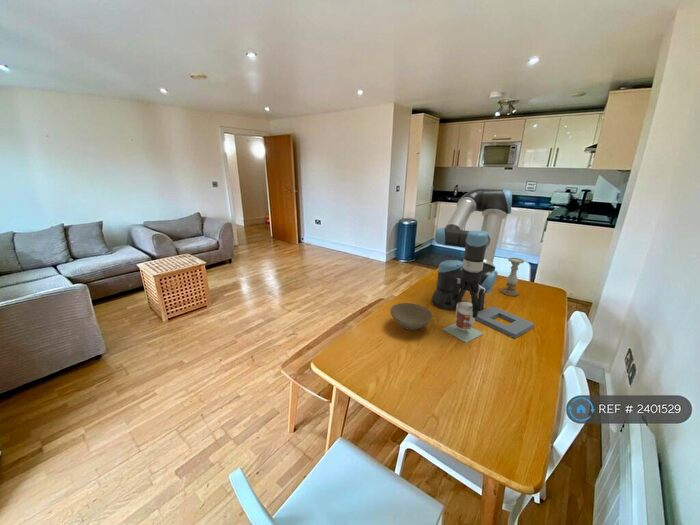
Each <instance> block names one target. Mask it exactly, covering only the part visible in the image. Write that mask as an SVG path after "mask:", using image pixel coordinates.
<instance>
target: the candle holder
mask: <svg viewBox="0 0 700 525" xmlns="http://www.w3.org/2000/svg"><path fill="white" fill-rule="evenodd" d="M507 261H509V262H510V264H511V266H510V272H509V273H510V274H509V275H508V276H507V278H506V284H505V285H506V287H504V288H501V290H500V293H502V294H503V295H506V296H509V297H517V296H519V292H518V290H517V289H516V286H517V285H516V284H517V283H518V282H519V281H518V276H517V272H518V271H519V266H520V264H524V263H525V260H524V259H522V258H519V257H509V258H508V260H507Z"/></svg>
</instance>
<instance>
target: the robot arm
mask: <svg viewBox="0 0 700 525" xmlns="http://www.w3.org/2000/svg"><path fill="white" fill-rule="evenodd" d="M512 204H513V192H512V190H510V189H504V188H502V189H491V188H477V189H473V190H470V191H468V192H466V193H465V194H464V195H462V196H461V197H460V198H459V200H458V201H457V204H456V208H455V210H454V212H453V213H452V214H451V217H450V219H449V220H448V222H447V224H446V226H445V227H438V228H437V229H436V232H435V234H434V241H435V243H436V244H437V245H442V246H446V247H447V246H448V247H456V248H462V249H464V253H463V254H464V255H463V261H461V260H458V259H456V260H455V259H447V260H444V261H442V262H440V263H439V265H438V269H437V280H436V287H435V290H434V292H433V294H432V295H431V296H432V297H431V303H433V304H434V305H433V304H432V305H433V306H435V307H437V308H439V309H443V310H446V311H452V310H453V311H455V315H454V317H455V318H456V319H457V314H458V309H459V308H460V307H461V306H460V305H461V303H462V302H463V301H462V300H463V298H464V296H465V293H466V292H469V295H470V298H471V304H472V306H473V307H472V310H471V313H470V319H469V324H470V325H471V324H472V325H473V324H475V322H476V320H475V318H476V317H477V315H478V312H480V311H482V310H484V309H485V308H484V307H485V296H486V294H489V293H491V292H492V290H493V288H494V285H495V283H496V280H497V277H498V271H497V270H496V266H495V264H493V263H494V259H495V256H496V255H495V254H496V250H497V245H498V240H499V237H500V233H501V228H502V224H503V220H504V219H506V218H507V217H508V215H510V214H511V213H512ZM474 212H480V213H481V215H482V216H483V219H482V224H481V227H480V230H464V228H465V226H466V224H467V222H468V220H469V218H470V217H471V215H472V214H473V213H474ZM472 325H471V326H472Z"/></svg>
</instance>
